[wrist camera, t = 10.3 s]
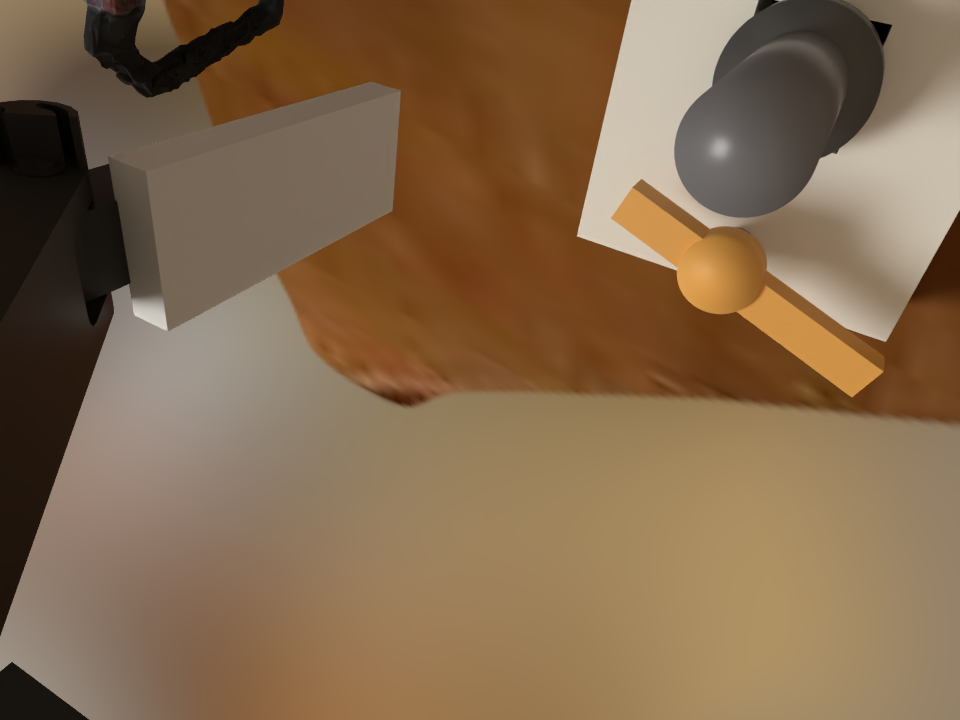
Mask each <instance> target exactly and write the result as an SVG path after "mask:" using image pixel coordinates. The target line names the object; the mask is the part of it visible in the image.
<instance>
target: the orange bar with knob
mask: <svg viewBox="0 0 960 720" xmlns="http://www.w3.org/2000/svg"><path fill="white" fill-rule="evenodd" d="M611 219H613V220H614V221H615V222H617V223H618V224H619V225H621V226H622V227H623V228H625V229H626V230H627V231H629V232H630V233H631V234H633V235H634V236H635V237H637V238H638V239H639V240H641V241H642V242H643V243H645V244H646V245H648V246H649V247H650V248H652V249H653V250H654V251H656V252H657V253H658V254H660V255H661V256H662V257H664V258H665V259H666V260H668V261H669V262H670V263H672V264H673V265H674V266H676V267H677V268H678V269H677V280H678V285H679V287H680V290H681V292H682V293H683V295H684V296H685V298H686V299H687V300H688V301H689V302H690V303H691V304H693V305H694V306H695V307H697V308H699V309H701V310H703V311H706V312H709V313H714V314H728V313H733V312H738V313H739V314H740V315H742V316H743V317H744V318H746V319H747V320H748V321H750V322H751V323H752V324H754V325H755V326H756V327H758V328H759V329H760V330H762V331H763V332H765V333H766V334H767V335H769V336H770V337H771V338H773V339H774V340H775V341H777V342H778V343H779V344H781V345H782V346H783V347H785V348H786V349H787V350H789V351H790V352H791V353H793V354H794V355H795V356H797V357H798V358H800V359H801V360H802V361H804V362H805V363H806V364H808V365H809V366H810V367H812V368H813V369H814V370H816V371H817V372H818V373H820V374H821V375H822V376H824V377H825V378H826V379H828V380H829V381H830V382H832V383H833V384H834V385H836V386H837V387H839V388H840V389H841V390H843V391H844V392H845V393H847V394H848V395H849V396H851V397H853V396H854V395H855V394H856V393H858V392H859V391H860V390H861V389H863V388H864V387H865V386H866V385H868V384H869V383H870V382H871V381H873V380H874V379H875V378H876V377H878V376H879V375H880V374H881V373H883V372H884V361H885V357H884V356H883V355H881V354H880V353H879V352H877V351H876V350H875V349H873V348H872V347H870V346H869V345H868V344H866V343H865V342H864V341H862V340H861V339H860V338H858V337H857V336H855V335H854V334H853V333H851V332H850V331H849V330H847V329H846V328H844V327H843V326H842V325H840V324H839V323H838V322H836V321H835V320H834V319H832V318H831V317H829V316H828V315H827V314H825V313H824V312H823V311H821V310H820V309H819V308H817V307H816V306H814V305H813V304H812V303H810V302H809V301H808V300H806V299H805V298H804V297H802V296H801V295H799V294H798V293H797V292H795V291H794V290H793V289H791V288H790V287H789V286H787V285H786V284H784V283H783V282H782V281H780V280H779V279H778V278H776V277H775V276H773V275H772V274H771V273H769V272H768V271H767V259H766V254H765V251H764V249H763V247H762V245H761V244H760V243H759V241H758V240H757V239H756V238H755V237H754V236H752V235H751V234H750V233H748V232H746V231H744V230H742V229H739V228H736V227H731V226H720V227H714V228H711V229H709V228H708V227H707V226H705V225H704V224H703V223H701V222H700V221H698V220H697V219H696V218H694V217H693V216H692V215H690V214H689V213H687V212H686V211H685V210H683V209H682V208H681V207H679V206H678V205H677V204H675V203H674V202H672V201H671V200H670V199H668V198H667V197H666V196H664V195H663V194H662V193H660V192H659V191H657V190H656V189H655V188H653V187H652V186H651V185H649V184H648V183H647V182H645V181H644V180H642V179H641V180H640V181H639V182H638V183H636V184H635V185H634V186H633V187H632V189H631V190H630V191H629V193H628V194H627V196H626V197H625V199H624V200H623V202H622V203H621V204H620V206H619V207H618V209H617V210H616V212H615V213H614V214H613V216H612V217H611Z"/></svg>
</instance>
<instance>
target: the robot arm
mask: <svg viewBox="0 0 960 720" xmlns="http://www.w3.org/2000/svg"><path fill="white" fill-rule="evenodd" d="M400 94H401V91H400V90H397V89H394V88H390V87H387V86H384V85H380V84H377V83H374V82H368V83H365V84H361V85H358V86H354V87H351V88H347V89H344V90H340V91H337V92H333V93H330V94H326V95H323V96H319V97H316V98H312V99H309V100H305V101H302V102H298V103H295V104H291V105H288V106H284V107H281V108H277V109H273V110H270V111H266V112H263V113H259V114H256V115H252V116H249V117H245V118H242V119H238V120H235V121H231V122H228V123H224V124H221V125H217V126H214V127H210V128H207V129H203V130H200V131H196V132H193V133H189V134H186V135H182V136H179V137H175V138H171V139H168V140H164V141H161V142H157V143H154V144H151V145H147V146H143V147H140V148H136V149H133V150H129V151H126V152H123V153H119V154H116V155H112V156H108V160H109V164H107V165H103V166H100V167H96V168H93V169H90V170H88V165H87V159H86V155H85V148H84V143H83V138H82V132H81V127H80V121H79V116H78V111H76V110H75V109H73V108H72V107H70V106H67V105H64V104H60V103H56V102H48V101H40V100H18V101H7V102H0V635H1V632H2V629H3V627H4V624H5V621H6V618H7V615H8V612H9V610H10V606H11V604H12V601H13V598H14V595H15V593H16V589H17V587H18V584H19V581H20V578H21V575H22V573H23V570H24V567H25V564H26V561H27V558H28V556H29V553H30V550H31V547H32V544H33V541H34V538H35V536H36V533H37V530H38V527H39V524H40V521H41V519H42V516H43V513H44V510H45V507H46V504H47V502H48V499H49V496H50V493H51V490H52V487H53V485H54V482H55V479H56V476H57V473H58V470H59V467H60V464H61V462H62V459H63V456H64V453H65V450H66V448H67V445H68V442H69V439H70V436H71V433H72V430H73V428H74V425H75V422H76V419H77V416H78V413H79V410H80V408H81V405H82V402H83V399H84V396H85V393H86V390H87V388H88V385H89V382H90V379H91V376H92V374H93V371H94V368H95V365H96V362H97V359H98V357H99V354H100V351H101V348H102V345H103V342H104V340H105V337H106V334H107V331H108V328H109V325H110V322H111V320H112V317H113V314H114V306H113V300H112V295H111V292H112V291H114V290H116V289H119V288H121V287H123V286H125V285H127V284H129V286H130V292H131V298H132V304H133V310H134V315H135V316H137V317H139V318H141V319H143V320H145V321H147V322H149V323H151V324H153V325H155V326H157V327H159V328H162V329H164V330H166V331H170V330H172V329H173V328H175V327H177V326H179V325H180V324H182V323H184V322H186V321H188V320H190V319H192V318H194V317H196V316H198V315H199V314H201V313H203V312H205V311H207V310H209V309H210V308H212V307H214V306H216V305H218V304H220V303H222V302H223V301H225V300H227V299H229V298H231V297H233V296H235V295H237V294H238V293H240V292H242V291H244V290H246V289H248V288H249V287H251V286H253V285H255V284H257V283H259V282H261V281H262V280H264V279H266V278H268V277H270V276H272V275H274V274H276V273H277V272H279V271H281V270H283V269H285V268H287V267H289V266H290V265H292V264H294V263H296V262H298V261H300V260H302V259H303V258H305V257H307V256H309V255H311V254H313V253H315V252H316V251H318V250H320V249H322V248H324V247H326V246H328V245H329V244H331V243H333V242H335V241H337V240H339V239H341V238H342V237H344V236H346V235H348V234H350V233H352V232H354V231H355V230H357V229H359V228H361V227H363V226H365V225H367V224H368V223H370V222H372V221H374V220H376V219H378V218H380V217H381V216H383V215H385V214H387V213H389V212H391V211H392V208H393V194H394V180H395V165H396V151H397V137H398V123H399V109H400ZM0 720H89V719H87V718H86V717H85V716H83V715H82V714H81V713H79V712H78V711H77V710H75V709H74V708H73V707H71V706H70V705H69V704H67V703H66V702H65V701H63V700H62V699H61V698H59V697H58V696H56V695H55V694H54V693H53V692H51V691H50V690H49V689H47V688H46V687H45V686H43V685H42V684H41V683H39V682H38V681H37V680H35V679H34V678H33V677H31V676H30V675H29V674H27V673H26V672H25V671H23V670H22V669H21V668H19V667H18V666H17V665H15V664H14V663H13V662H12V663H10V664H9V665H8V666H7V667H5V668H4V669H3V670H2V671H0Z"/></svg>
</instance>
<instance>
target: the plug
mask: <svg viewBox="0 0 960 720" xmlns="http://www.w3.org/2000/svg"><path fill="white" fill-rule="evenodd" d="M884 68H885V60H884V51H883V46H882V43H881V40H880V37H879V34H878V32H877V31H876V29H875V27H874V25H873V24H872V23H871V21H870V20H869V19H868V18H867V16H866V15H864V14H863V13H862V12H861V11H860V10H859V9H858V8H856V7H854V6H853V5H851V4H850V3H848V2H846V1H843V0H782V1H779V2H777V3H775V4H773V5H771V6H769V7H767V8H766V9H764V10H762V11H760V12H759V13H757V14H756V15H754V16H753V17H752V18H750V19H749V20H747V21H746V22H745V23H744V24H743V25H742V26H741V27H740V28H739V29H738V30H737V31H736V32H735V33H734V35H733V36H732V37H731V38H730V40H729V41H728V43H727V44H726V46H725V47H724V49H723V51H722V53H721V55H720V57H719V59H718V62H717V65H716V67H715V71H714V76H713V82H712V87H711V88H709V89H708V90H707V91H706V92H704V93H703V94H702V95H701V96H700V97H699V98H698V99H697V100H696V101H695V102H694V103H693V104H692V105H691V106H690V107H689V109H688V110H687V112H686V113H685V115H684V117H683V119H682V120H681V122H680V125H679V128H678V130H677V134H676V138H675V146H674V159H675V164H676V169H677V172H678V175H679V177H680V180H681V182H682V184H683V185H684V187H685V188H686V190H687V191H688V192H689V194H690V195H691V196H692V197H693V198H694V199H695V200H696V201H697V202H698V203H700V204H701V205H703V206H704V207H706V208H707V209H709V210H711V211H713V212H716V213H718V214H721V215H725V216H729V217H737V218H749V217H757V216H761V215H765V214H768V213H771V212H773V211H776V210H778V209H779V208H781V207H783V206H785V205H786V204H788V203H789V202H791V201H792V200H793V199H794V198H795V197H796V196H797V195H799V193H800V192H801V191H802V190H803V189H804V188H805V186H806V185H807V183H808V182H809V180H810V179H811V177H812V175H813V173H814V171H815V169H816V166H817V164H818V162H819V159H820V158H823V157H825V156H827V155H829V154H831V153H833V152H835V151H836V150H838V149H839V148H841V147H842V146H844V145H845V144H846V143H848V142H849V141H850V140H851V139H852V138H853V137H854V136H855V135H856V134H857V133H858V132H859V131H860V130H861V128H862V127H863V126H864V125H865V123H866V122H867V120H868V119H869V117H870V116H871V114H872V112H873V110H874V108H875V106H876V103H877V100H878V98H879V95H880V91H881V87H882V82H883V78H884Z"/></svg>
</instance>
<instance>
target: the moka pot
mask: <svg viewBox="0 0 960 720" xmlns="http://www.w3.org/2000/svg"><path fill="white" fill-rule="evenodd" d="M84 1H85V2H86V3H87V4H88V7H87V15H86V23H85V31H84V47H85V50H86V51H88V52H89V53H90V54H91V55H92V56H93V57H96V58H97V59H98V60H99V61H100V63H101V66H102V67H104V68H106V69H108V68H110V69H112V70H114V71H116V76H117V77H118V79H119V80H120V81H122V82H123V83H125V84H127V85H132V86H133V87H134V88H135V89H136V91H137V92H138V93H140V94H141V95H143V96H145V97H154V96H156V95H159V94H162V93H164V92H171V91H172V90H174V89H178V88H179V87H180V86H181V84H182V83H184V82H188V81H189V80H190V78H192V77H196V76H197V75H199V74H200V73H201V72H202V71H203V70H205V68H206V67H208V66H210V65H211V64H213V63H215V62H218V61H220V60H221V58H222V57H224V56H227V55H229V54H230V53H231V52H232V51H233V50H234V49H235V48H236V47H237V46H242V45H246V44H248V43H250V42H251V41H252V40H253V38H254V37H255V36H261V35H262V34H263V33H265V32H266V31H268V30H270V29H272V28H274V27H276V26H277V25H279V23H280V20H281V17H282V15H283V6H284V0H259V2H258V4H257V5H256V6H254V7H251V8H249V9H248V10H247V11H245V12H244V13H243V14H242V15H241V16H240V17H239V18H238V19H237V20H236V21H235V22H234V23H233V22H231V21H230V22H227V23H225V24H222V25H220V26H218V27H216V28H213V29H210V31H209V32H208V33H207V34H206V35H203V36H199V37H197V38H196V39H194V40H192V41H190V43H188V44H187V45H180V46H178V47H177V48H175V49H174V50H172V51H171V52H169V53H168V54H167V55H165V56H164V57H163V58H161V59H159V60H158V61H156V62H150V61H149V60H147V59H146V58H144V57H143V56H142V55H140V53H139V50H138V49H137V48H136V46H135V36H136V32H137V27H138V23H139V21H140V19H141V18H142V16H143V13H144V10H145V2H146V0H84Z"/></svg>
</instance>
